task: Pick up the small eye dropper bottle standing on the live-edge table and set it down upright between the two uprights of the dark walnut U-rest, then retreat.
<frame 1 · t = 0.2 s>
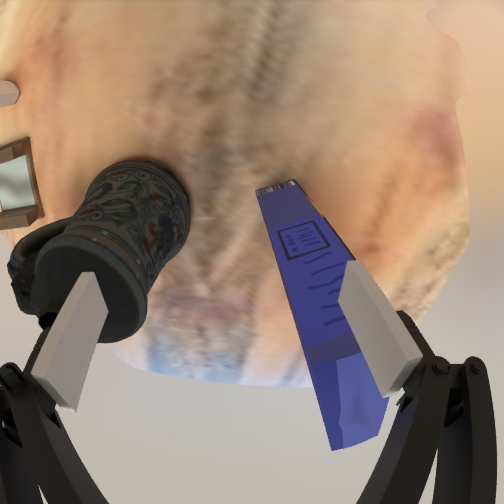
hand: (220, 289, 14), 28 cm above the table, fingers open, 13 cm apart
beer stein: (131, 212, 40), on the table
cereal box: (290, 245, 46), on the table
eye dropper bottle: (10, 92, 26), on the table
u rest: (16, 181, 34), on the table
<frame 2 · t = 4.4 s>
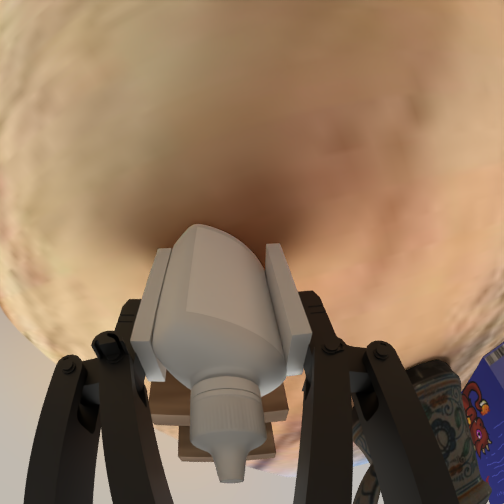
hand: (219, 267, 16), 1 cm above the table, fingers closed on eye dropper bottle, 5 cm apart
beer stein: (390, 398, 31), on the table
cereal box: (475, 379, 37), on the table
eye dropper bottle: (220, 257, 16), on the table, touching gripper
u rest: (221, 398, 24), on the table
when the fingers open (3 cm above the table, at t = 9.4 s): eye dropper bottle drops 1 cm, resting on u rest.
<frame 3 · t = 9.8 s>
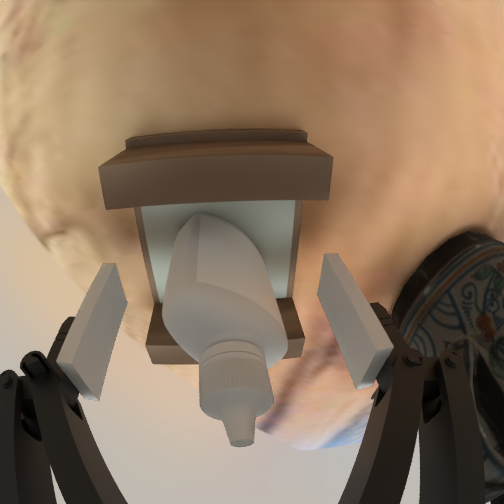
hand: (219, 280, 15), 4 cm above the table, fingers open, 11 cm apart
beer stein: (437, 298, 25), on the table
eye dropper bottle: (221, 246, 17), point 1 cm above the table, touching u rest
u rest: (219, 238, 18), on the table
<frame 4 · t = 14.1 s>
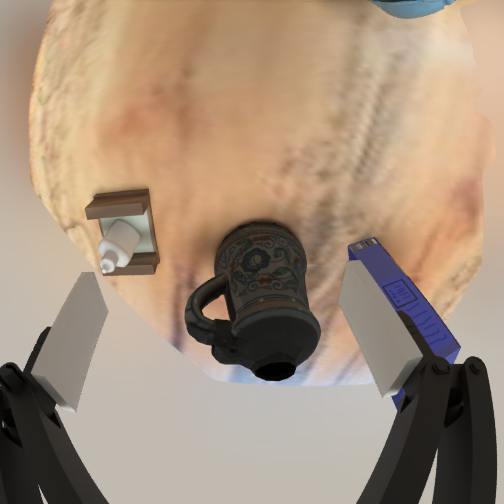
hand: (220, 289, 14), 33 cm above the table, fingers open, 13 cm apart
beer stein: (251, 260, 53), on the table
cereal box: (363, 281, 59), on the table
eye dropper bottle: (126, 231, 45), point 1 cm above the table, touching u rest
u rest: (127, 228, 46), on the table
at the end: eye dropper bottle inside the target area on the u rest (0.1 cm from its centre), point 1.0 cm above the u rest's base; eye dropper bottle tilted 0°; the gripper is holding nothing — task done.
